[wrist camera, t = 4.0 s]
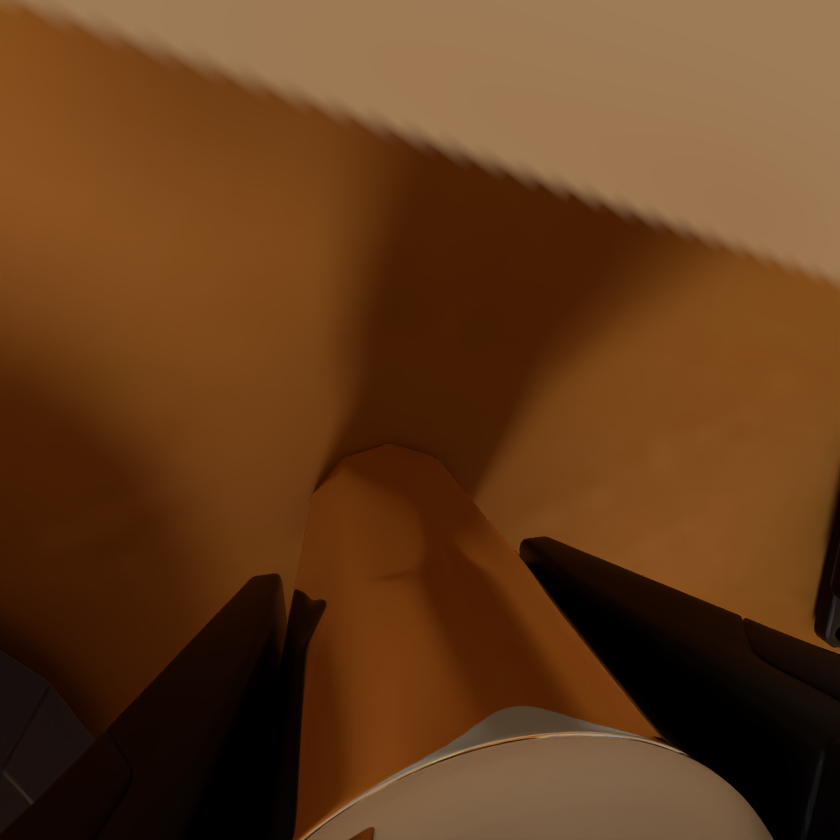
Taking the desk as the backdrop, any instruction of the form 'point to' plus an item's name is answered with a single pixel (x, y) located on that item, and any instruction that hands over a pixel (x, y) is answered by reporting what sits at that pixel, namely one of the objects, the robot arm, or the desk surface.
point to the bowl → (33, 737)
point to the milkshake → (458, 689)
